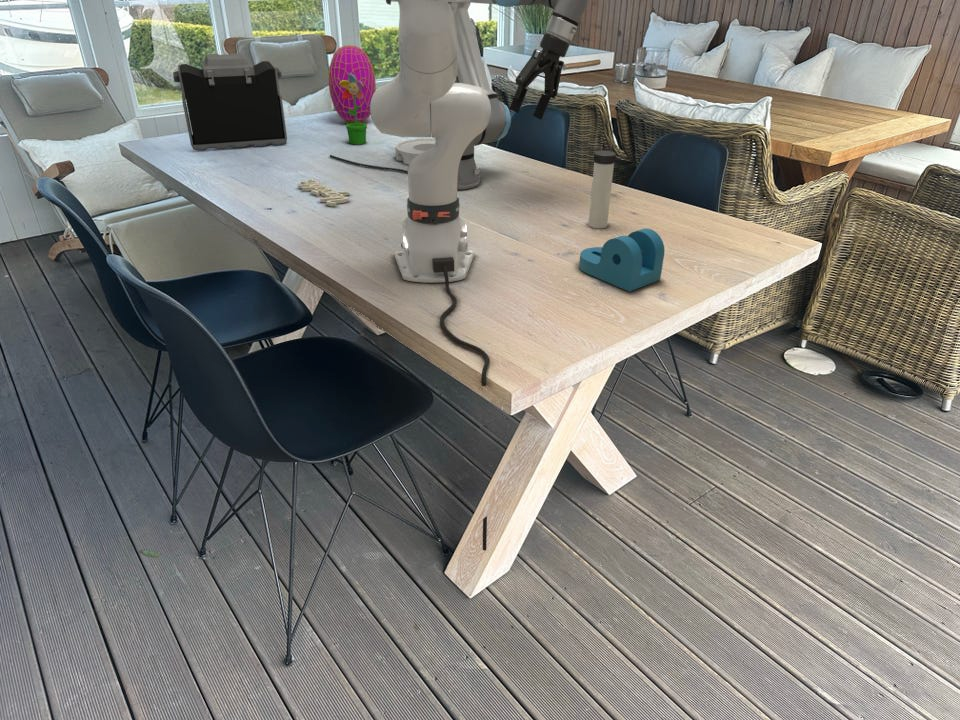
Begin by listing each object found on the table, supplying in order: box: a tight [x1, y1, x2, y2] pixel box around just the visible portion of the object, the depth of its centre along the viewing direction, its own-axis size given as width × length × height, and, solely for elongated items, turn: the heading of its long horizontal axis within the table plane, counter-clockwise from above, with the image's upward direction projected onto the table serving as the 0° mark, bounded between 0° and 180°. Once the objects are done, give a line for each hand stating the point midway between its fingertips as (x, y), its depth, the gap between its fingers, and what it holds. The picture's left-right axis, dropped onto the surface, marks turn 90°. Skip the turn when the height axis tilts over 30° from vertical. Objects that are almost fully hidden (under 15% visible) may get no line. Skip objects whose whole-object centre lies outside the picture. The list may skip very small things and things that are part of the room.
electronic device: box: [172, 52, 288, 152], centre depth 253 cm, size 37×22×30 cm, turn 111°
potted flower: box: [339, 73, 368, 145], centre depth 255 cm, size 9×8×25 cm
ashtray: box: [394, 138, 436, 166], centre depth 243 cm, size 23×23×4 cm
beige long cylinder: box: [587, 161, 615, 229], centre depth 180 cm, size 5×5×19 cm
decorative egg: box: [328, 44, 377, 124], centre depth 286 cm, size 19×19×30 cm
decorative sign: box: [297, 178, 350, 207], centre depth 206 cm, size 26×1×10 cm
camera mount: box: [578, 228, 665, 292], centre depth 154 cm, size 18×10×10 cm, turn 39°
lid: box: [593, 150, 617, 164], centre depth 176 cm, size 6×6×2 cm
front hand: (430, 23), depth 166 cm, fingers open, 8 cm apart
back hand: (525, 114), depth 193 cm, fingers open, 13 cm apart
